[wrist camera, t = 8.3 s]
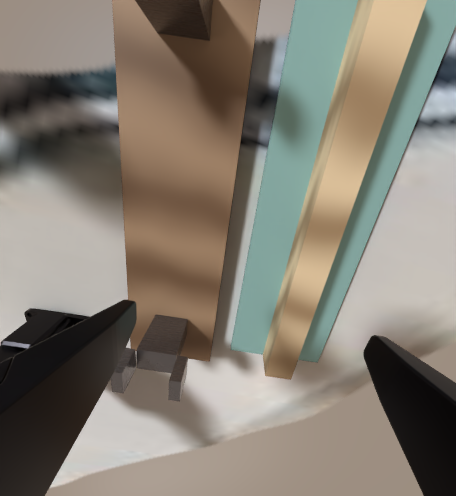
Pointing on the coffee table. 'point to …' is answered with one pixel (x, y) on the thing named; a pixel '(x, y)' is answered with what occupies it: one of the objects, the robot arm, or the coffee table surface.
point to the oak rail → (340, 167)
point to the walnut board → (180, 160)
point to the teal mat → (304, 154)
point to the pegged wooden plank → (162, 327)
